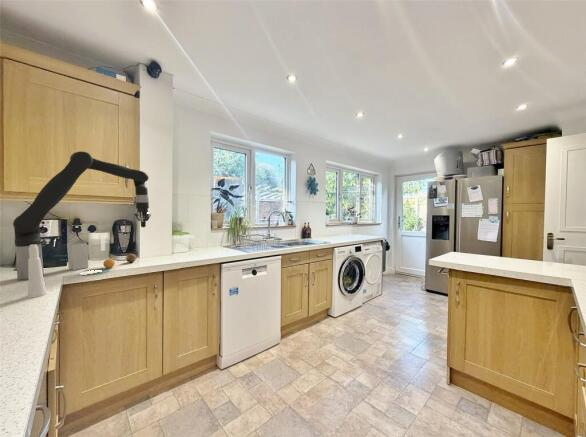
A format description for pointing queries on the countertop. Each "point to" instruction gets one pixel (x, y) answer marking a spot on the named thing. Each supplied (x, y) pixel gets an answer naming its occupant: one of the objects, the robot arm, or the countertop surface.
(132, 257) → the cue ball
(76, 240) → the milk carton
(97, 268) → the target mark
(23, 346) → the countertop surface
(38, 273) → the cosmetic bottle
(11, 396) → the countertop surface
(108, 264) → the object ball
